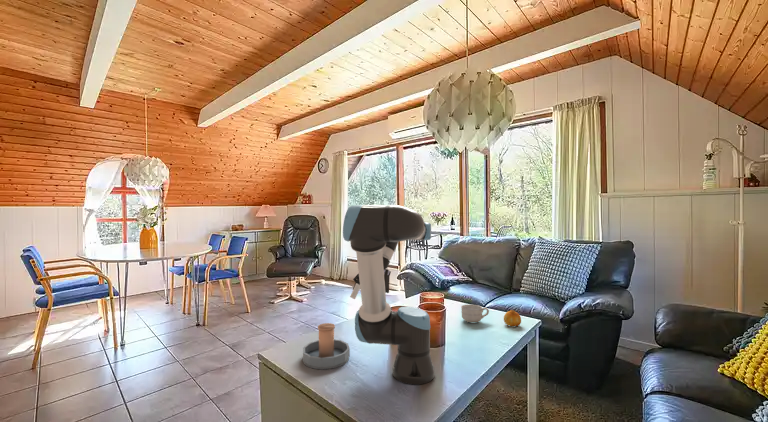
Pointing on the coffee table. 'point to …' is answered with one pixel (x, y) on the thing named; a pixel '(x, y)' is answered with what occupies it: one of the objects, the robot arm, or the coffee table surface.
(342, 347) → the slate bowl
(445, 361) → the coffee table surface
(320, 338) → the terracotta jar
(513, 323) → the fruit
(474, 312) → the teacup
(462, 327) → the coffee table surface
